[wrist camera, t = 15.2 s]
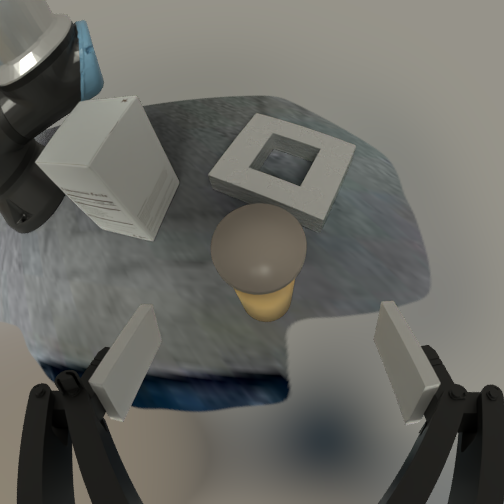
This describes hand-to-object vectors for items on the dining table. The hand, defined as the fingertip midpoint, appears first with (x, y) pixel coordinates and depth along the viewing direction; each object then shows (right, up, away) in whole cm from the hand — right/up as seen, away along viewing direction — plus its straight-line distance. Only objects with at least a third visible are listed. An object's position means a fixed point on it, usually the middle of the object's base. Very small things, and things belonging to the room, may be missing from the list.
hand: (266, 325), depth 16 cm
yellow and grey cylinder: (+1, -1, +14) cm, 14 cm away
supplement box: (-15, +10, +20) cm, 27 cm away
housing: (+3, +14, +20) cm, 24 cm away
